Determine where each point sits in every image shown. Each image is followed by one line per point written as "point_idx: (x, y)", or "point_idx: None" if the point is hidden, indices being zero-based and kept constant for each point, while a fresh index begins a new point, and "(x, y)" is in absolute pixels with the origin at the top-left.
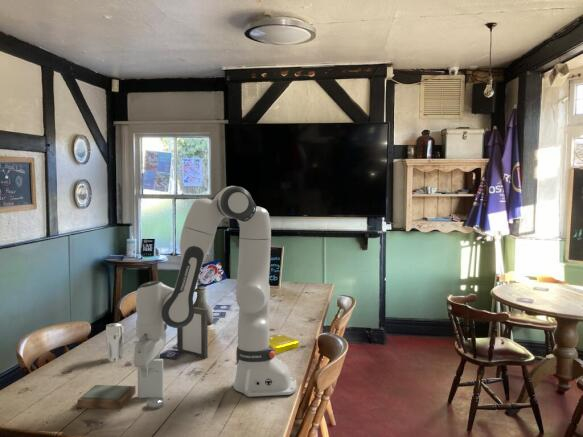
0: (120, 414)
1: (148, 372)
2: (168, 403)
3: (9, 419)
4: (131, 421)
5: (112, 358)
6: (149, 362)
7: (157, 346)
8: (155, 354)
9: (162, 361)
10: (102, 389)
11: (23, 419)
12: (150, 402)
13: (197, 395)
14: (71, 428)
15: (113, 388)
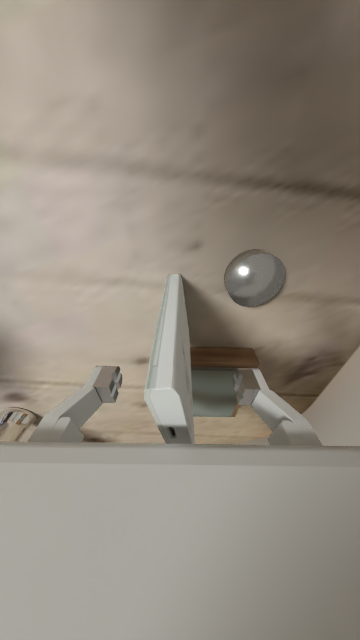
0: (281, 341)
1: (248, 380)
2: (235, 235)
3: (254, 438)
4: (336, 308)
5: (25, 426)
6: (317, 451)
7: (97, 586)
8: (181, 476)
9: (174, 378)
10: (194, 405)
11: (258, 430)
12: (269, 293)
13: (150, 87)
14: (314, 387)
15: None
